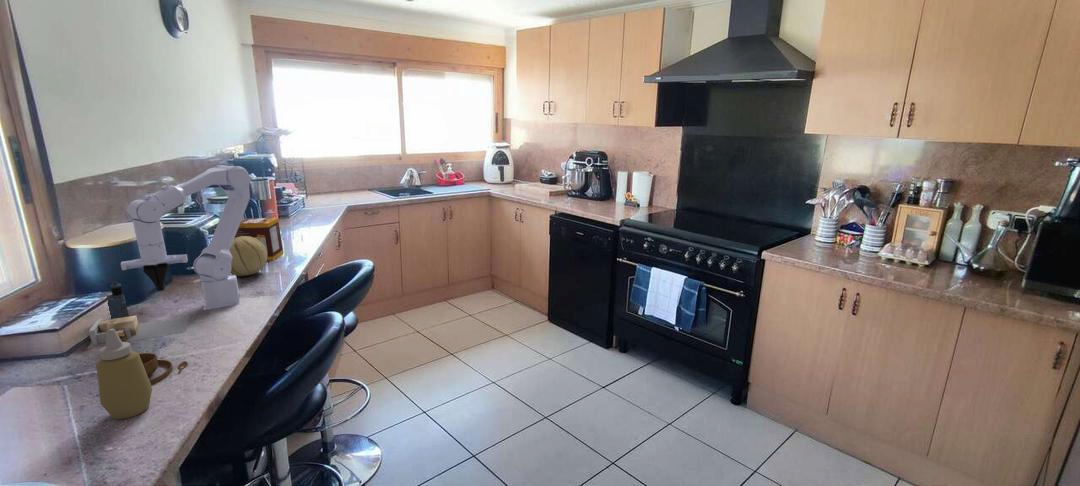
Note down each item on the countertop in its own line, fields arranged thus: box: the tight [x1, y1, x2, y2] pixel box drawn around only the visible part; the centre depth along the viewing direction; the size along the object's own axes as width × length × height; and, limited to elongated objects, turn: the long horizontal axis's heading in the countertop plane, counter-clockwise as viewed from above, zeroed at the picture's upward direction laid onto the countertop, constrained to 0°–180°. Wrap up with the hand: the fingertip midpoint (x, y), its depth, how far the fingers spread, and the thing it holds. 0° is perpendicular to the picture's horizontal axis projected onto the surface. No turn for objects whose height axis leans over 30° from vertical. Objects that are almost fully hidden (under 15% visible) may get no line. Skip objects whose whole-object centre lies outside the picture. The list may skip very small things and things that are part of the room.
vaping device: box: [105, 281, 130, 319], centre depth 140 cm, size 3×5×12 cm, turn 78°
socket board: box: [86, 315, 191, 350], centre depth 133 cm, size 20×12×5 cm, turn 119°
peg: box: [99, 315, 139, 335], centre depth 131 cm, size 8×4×4 cm, turn 119°
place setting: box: [119, 336, 188, 385], centre depth 115 cm, size 18×20×6 cm
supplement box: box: [234, 217, 284, 261], centre depth 200 cm, size 10×15×16 cm
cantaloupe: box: [230, 236, 268, 277], centre depth 179 cm, size 15×15×15 cm
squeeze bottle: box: [96, 329, 153, 420], centre depth 97 cm, size 8×8×18 cm
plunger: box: [115, 329, 126, 338], centre depth 128 cm, size 3×4×2 cm
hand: (161, 289), depth 138 cm, fingers closed
